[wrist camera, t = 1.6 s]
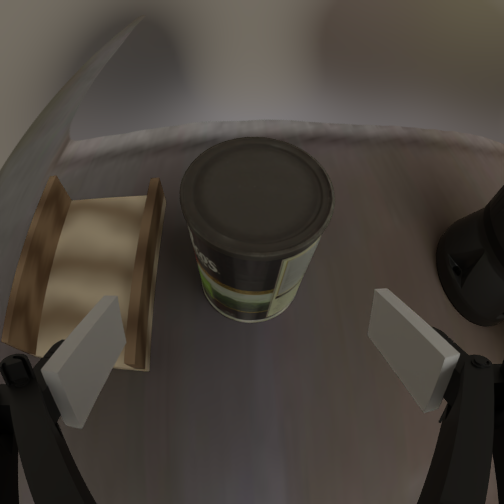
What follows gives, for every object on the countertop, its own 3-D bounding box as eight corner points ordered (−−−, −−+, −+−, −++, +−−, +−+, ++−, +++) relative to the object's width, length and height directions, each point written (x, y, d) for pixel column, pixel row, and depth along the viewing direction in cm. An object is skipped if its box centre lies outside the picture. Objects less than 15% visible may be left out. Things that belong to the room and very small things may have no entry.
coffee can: (215, 336, 29) (196, 275, 17) (192, 246, 34) (169, 150, 21) (314, 307, 31) (362, 232, 18) (280, 225, 35) (299, 128, 23)
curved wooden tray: (149, 371, 27) (126, 360, 21) (36, 356, 26) (1, 341, 20) (166, 202, 36) (155, 165, 31) (70, 208, 36) (50, 176, 30)
